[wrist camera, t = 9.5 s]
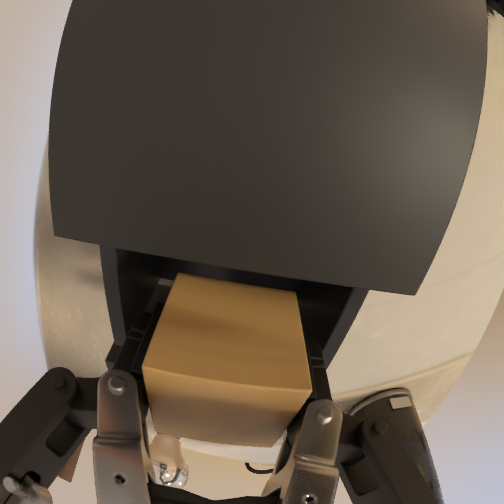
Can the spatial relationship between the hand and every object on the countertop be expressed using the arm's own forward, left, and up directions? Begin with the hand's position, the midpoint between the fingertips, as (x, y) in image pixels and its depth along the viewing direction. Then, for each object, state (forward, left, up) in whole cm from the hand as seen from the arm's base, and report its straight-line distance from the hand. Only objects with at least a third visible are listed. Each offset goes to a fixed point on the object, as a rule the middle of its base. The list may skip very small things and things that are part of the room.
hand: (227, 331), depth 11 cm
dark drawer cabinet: (+11, 0, -9) cm, 15 cm away
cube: (0, 0, 0) cm, 0 cm away
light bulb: (-30, +5, -9) cm, 31 cm away
